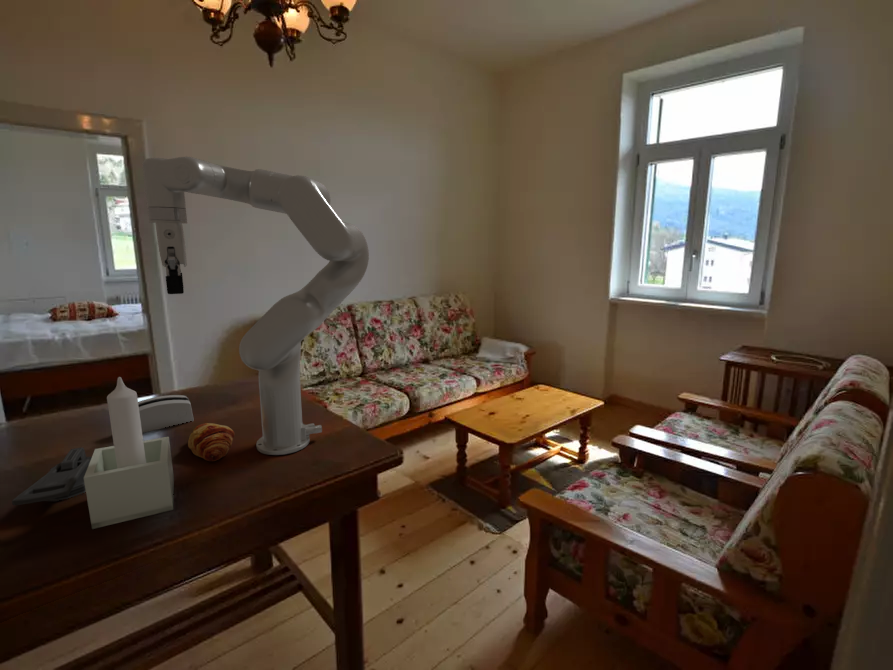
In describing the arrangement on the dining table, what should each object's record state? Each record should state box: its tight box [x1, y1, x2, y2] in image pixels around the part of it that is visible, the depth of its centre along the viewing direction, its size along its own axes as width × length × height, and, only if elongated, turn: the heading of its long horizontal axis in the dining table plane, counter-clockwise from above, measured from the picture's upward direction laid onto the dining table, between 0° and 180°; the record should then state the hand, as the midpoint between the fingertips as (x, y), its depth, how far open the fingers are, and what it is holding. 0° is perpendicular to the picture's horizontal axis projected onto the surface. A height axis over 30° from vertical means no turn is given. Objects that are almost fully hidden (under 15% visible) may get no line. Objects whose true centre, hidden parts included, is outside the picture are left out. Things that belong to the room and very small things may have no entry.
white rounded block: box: [138, 394, 194, 434], centre depth 123 cm, size 17×5×10 cm, turn 132°
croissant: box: [187, 422, 235, 462], centre depth 111 cm, size 21×10×8 cm, turn 34°
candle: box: [106, 376, 146, 469], centre depth 85 cm, size 7×7×25 cm
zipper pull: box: [11, 446, 92, 506], centre depth 91 cm, size 9×7×25 cm
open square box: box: [84, 436, 175, 530], centre depth 88 cm, size 12×12×10 cm
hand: (176, 291), depth 107 cm, fingers open, 9 cm apart
